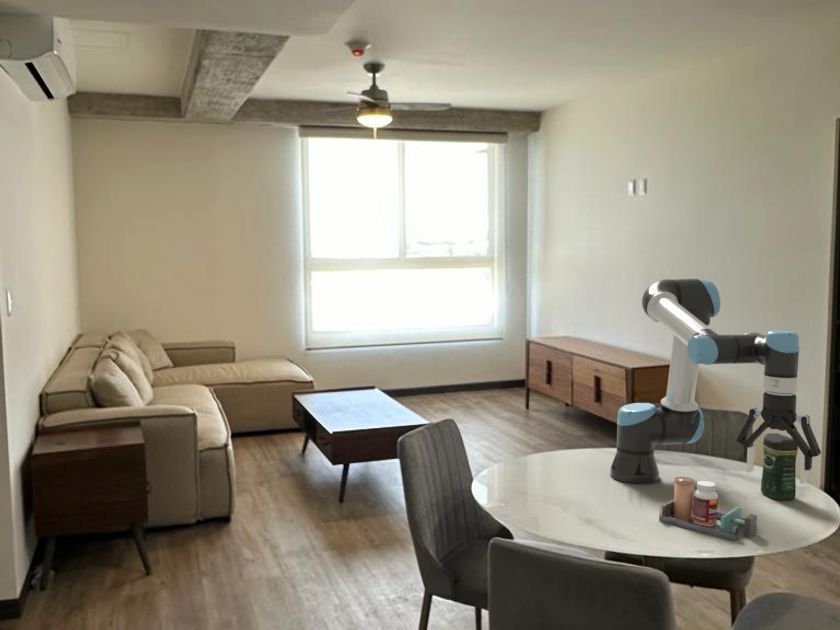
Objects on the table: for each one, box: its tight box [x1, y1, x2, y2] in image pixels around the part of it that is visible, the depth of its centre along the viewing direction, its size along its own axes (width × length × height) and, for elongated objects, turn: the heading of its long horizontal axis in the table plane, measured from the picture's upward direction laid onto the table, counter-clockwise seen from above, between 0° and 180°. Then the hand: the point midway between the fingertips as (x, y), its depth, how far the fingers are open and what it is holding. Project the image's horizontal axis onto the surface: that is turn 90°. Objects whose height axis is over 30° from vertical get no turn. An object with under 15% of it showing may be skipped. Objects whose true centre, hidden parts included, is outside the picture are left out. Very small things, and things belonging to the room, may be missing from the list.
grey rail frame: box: [658, 498, 746, 542], centre depth 210 cm, size 20×14×4 cm, turn 46°
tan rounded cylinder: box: [673, 476, 695, 522], centre depth 214 cm, size 5×5×11 cm
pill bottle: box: [692, 480, 719, 528], centre depth 210 cm, size 6×6×11 cm
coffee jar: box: [760, 432, 799, 501], centre depth 232 cm, size 10×8×19 cm
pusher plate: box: [719, 506, 758, 539], centre depth 203 cm, size 6×11×5 cm, turn 136°
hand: (776, 476), depth 196 cm, fingers open, 12 cm apart
